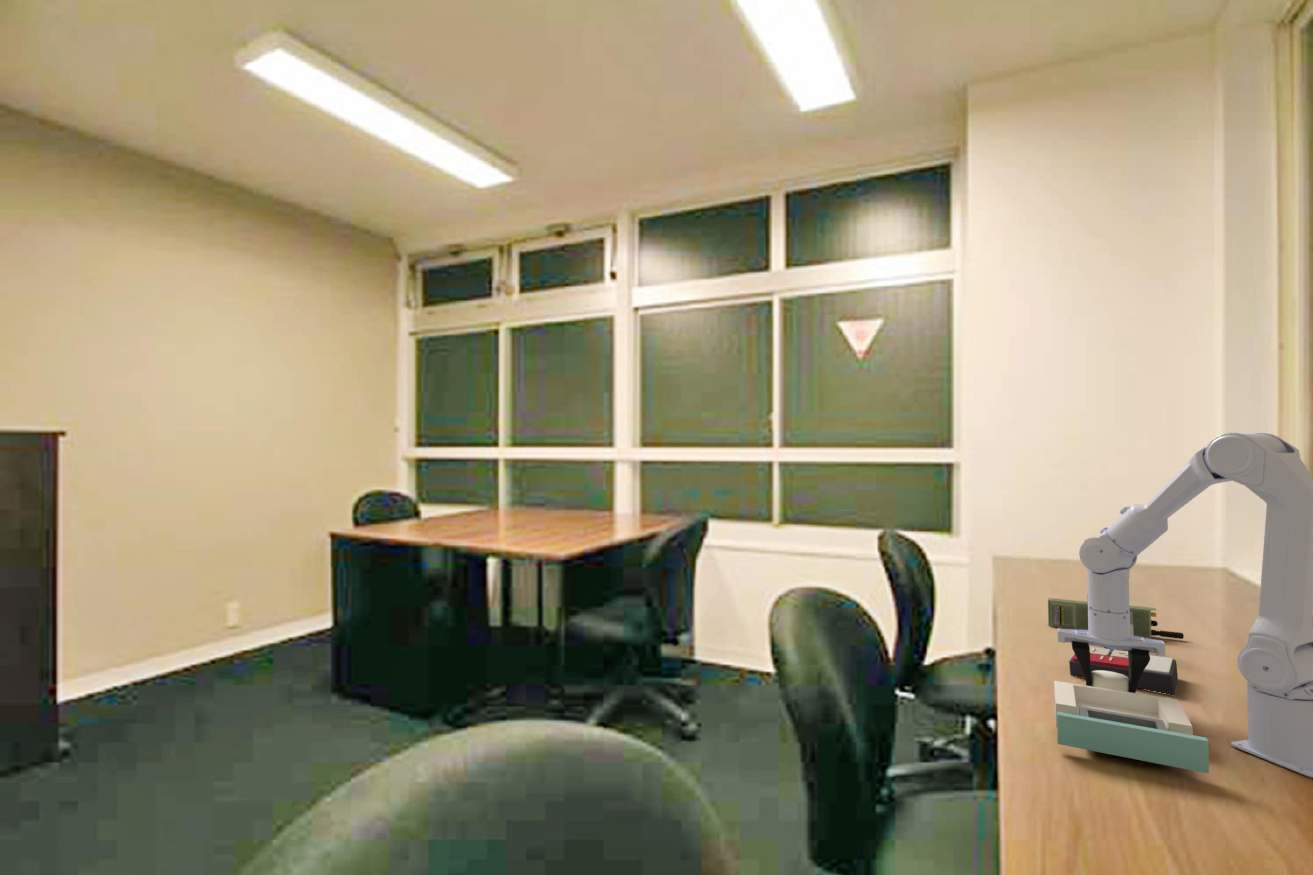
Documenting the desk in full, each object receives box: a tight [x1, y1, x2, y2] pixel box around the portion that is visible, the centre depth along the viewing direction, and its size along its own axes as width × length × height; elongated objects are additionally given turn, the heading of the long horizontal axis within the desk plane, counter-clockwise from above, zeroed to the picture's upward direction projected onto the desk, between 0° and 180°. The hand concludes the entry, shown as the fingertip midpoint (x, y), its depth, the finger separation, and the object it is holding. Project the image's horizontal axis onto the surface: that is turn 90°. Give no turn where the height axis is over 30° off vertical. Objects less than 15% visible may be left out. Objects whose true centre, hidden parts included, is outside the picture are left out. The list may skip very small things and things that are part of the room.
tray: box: [1056, 706, 1210, 774], centre depth 89 cm, size 11×16×4 cm
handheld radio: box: [1047, 597, 1185, 640], centre depth 145 cm, size 7×3×25 cm
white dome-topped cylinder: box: [1091, 670, 1129, 692], centre depth 106 cm, size 5×5×4 cm
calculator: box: [1068, 646, 1179, 696], centre depth 117 cm, size 11×4×15 cm
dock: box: [1053, 680, 1194, 735], centre depth 97 cm, size 11×16×4 cm
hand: (1110, 691), depth 106 cm, fingers closed on white dome-topped cylinder, 5 cm apart
